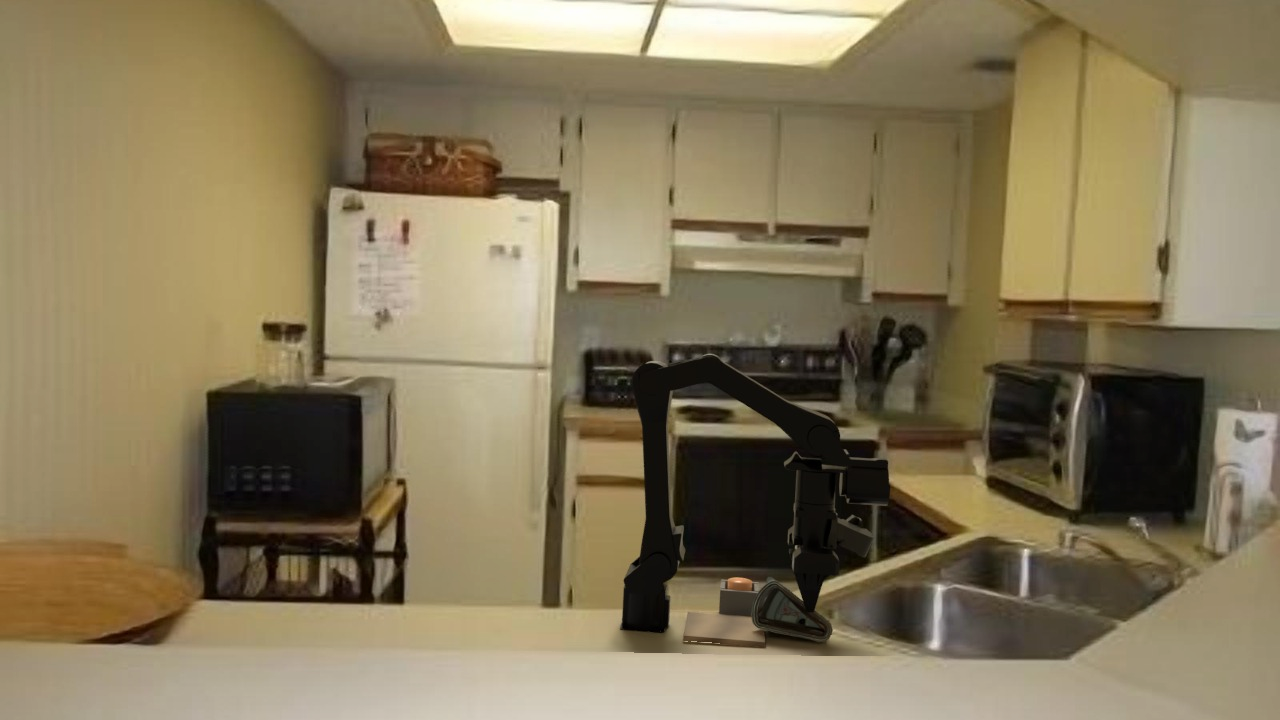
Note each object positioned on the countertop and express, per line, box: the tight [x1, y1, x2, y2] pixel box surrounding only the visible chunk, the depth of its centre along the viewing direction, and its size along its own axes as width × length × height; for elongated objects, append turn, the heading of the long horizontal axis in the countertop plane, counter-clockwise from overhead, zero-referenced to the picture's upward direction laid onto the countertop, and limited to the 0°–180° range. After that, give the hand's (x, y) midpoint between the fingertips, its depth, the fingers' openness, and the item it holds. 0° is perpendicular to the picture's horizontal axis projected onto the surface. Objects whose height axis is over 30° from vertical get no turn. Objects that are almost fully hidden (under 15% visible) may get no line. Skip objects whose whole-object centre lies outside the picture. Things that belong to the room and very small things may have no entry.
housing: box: [718, 579, 760, 617], centre depth 154 cm, size 6×6×4 cm
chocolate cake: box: [751, 576, 834, 643], centre depth 144 cm, size 10×7×12 cm
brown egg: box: [727, 577, 753, 591], centre depth 154 cm, size 4×4×4 cm
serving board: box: [682, 611, 766, 648], centre depth 143 cm, size 12×11×1 cm
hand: (808, 606), depth 142 cm, fingers open, 5 cm apart
